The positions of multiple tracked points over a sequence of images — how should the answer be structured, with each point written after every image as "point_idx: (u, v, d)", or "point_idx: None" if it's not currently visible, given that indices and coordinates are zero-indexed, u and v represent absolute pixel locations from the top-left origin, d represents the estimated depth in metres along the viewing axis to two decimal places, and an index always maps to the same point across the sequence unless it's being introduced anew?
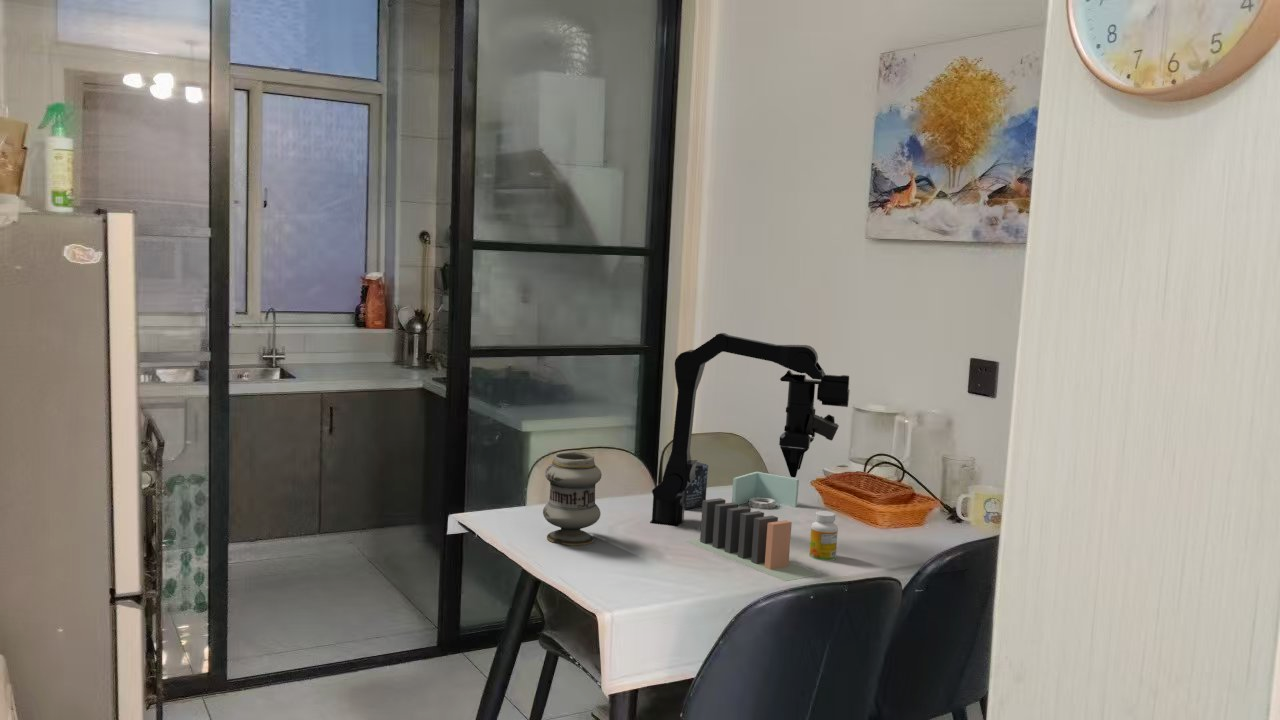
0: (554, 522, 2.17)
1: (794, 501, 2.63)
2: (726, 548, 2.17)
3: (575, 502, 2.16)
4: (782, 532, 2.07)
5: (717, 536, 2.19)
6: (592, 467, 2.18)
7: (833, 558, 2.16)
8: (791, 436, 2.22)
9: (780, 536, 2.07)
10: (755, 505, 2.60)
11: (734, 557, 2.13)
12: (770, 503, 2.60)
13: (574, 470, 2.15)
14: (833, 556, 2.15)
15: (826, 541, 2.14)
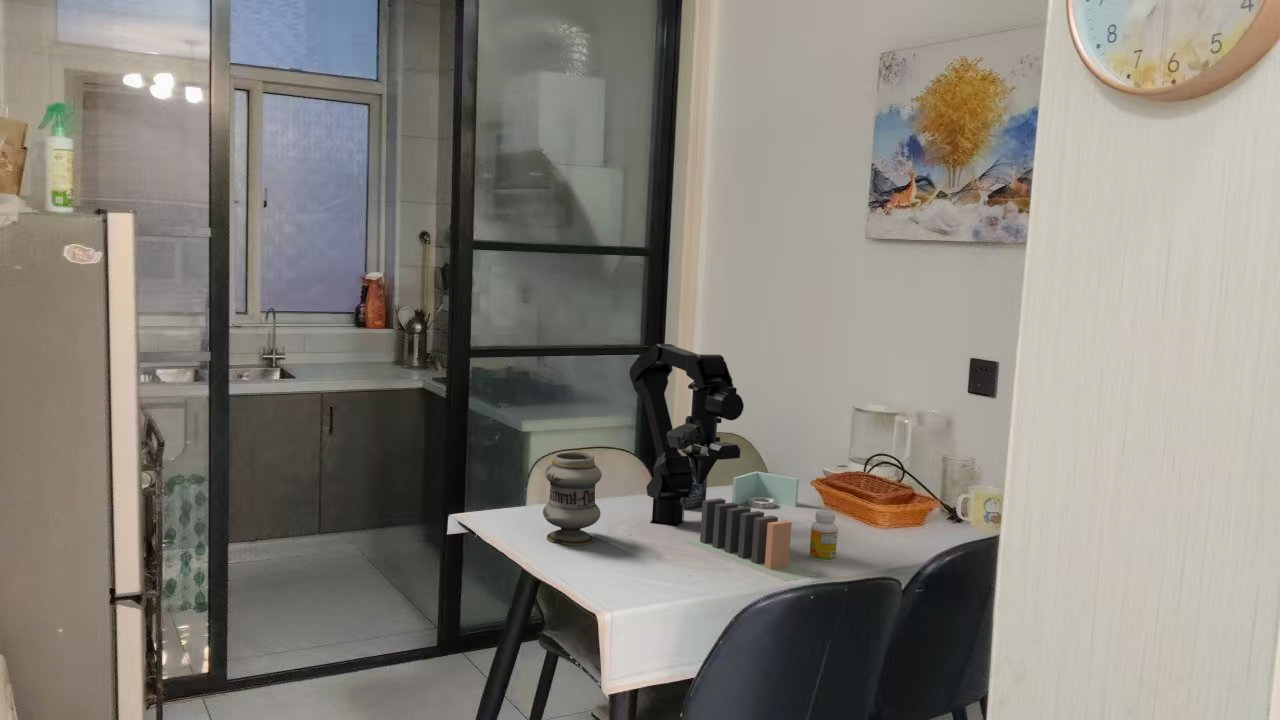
0: (554, 522, 2.17)
1: (794, 501, 2.63)
2: (726, 548, 2.17)
3: (575, 502, 2.16)
4: (782, 532, 2.07)
5: (717, 536, 2.19)
6: (592, 467, 2.18)
7: (833, 558, 2.16)
8: None
9: (780, 536, 2.07)
10: (755, 505, 2.60)
11: (734, 557, 2.13)
12: (770, 503, 2.60)
13: (574, 470, 2.15)
14: (833, 556, 2.15)
15: (826, 541, 2.14)
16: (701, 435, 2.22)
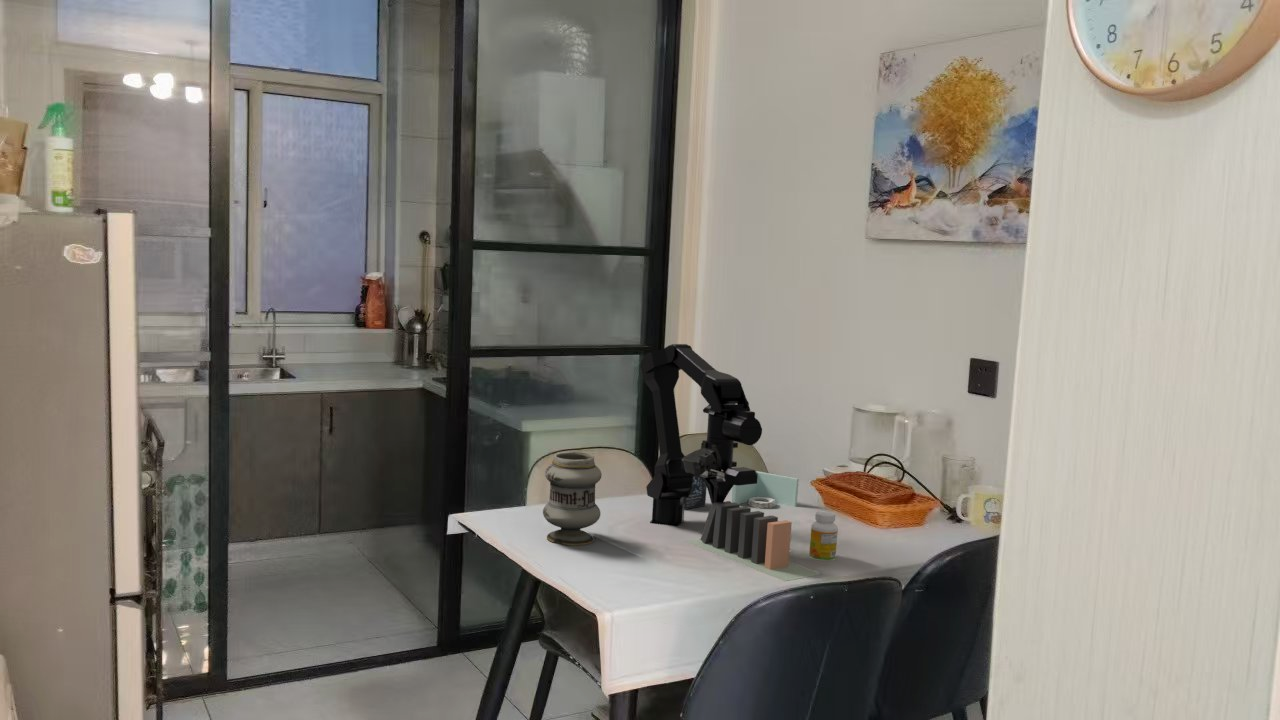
0: (554, 522, 2.17)
1: (794, 500, 2.63)
2: (726, 548, 2.17)
3: (575, 502, 2.16)
4: (782, 532, 2.07)
5: (717, 536, 2.19)
6: (592, 467, 2.18)
7: (833, 558, 2.16)
8: None
9: (780, 536, 2.07)
10: (755, 505, 2.60)
11: (734, 557, 2.13)
12: (770, 503, 2.60)
13: (574, 470, 2.15)
14: (833, 556, 2.15)
15: (827, 541, 2.14)
16: (717, 460, 2.18)
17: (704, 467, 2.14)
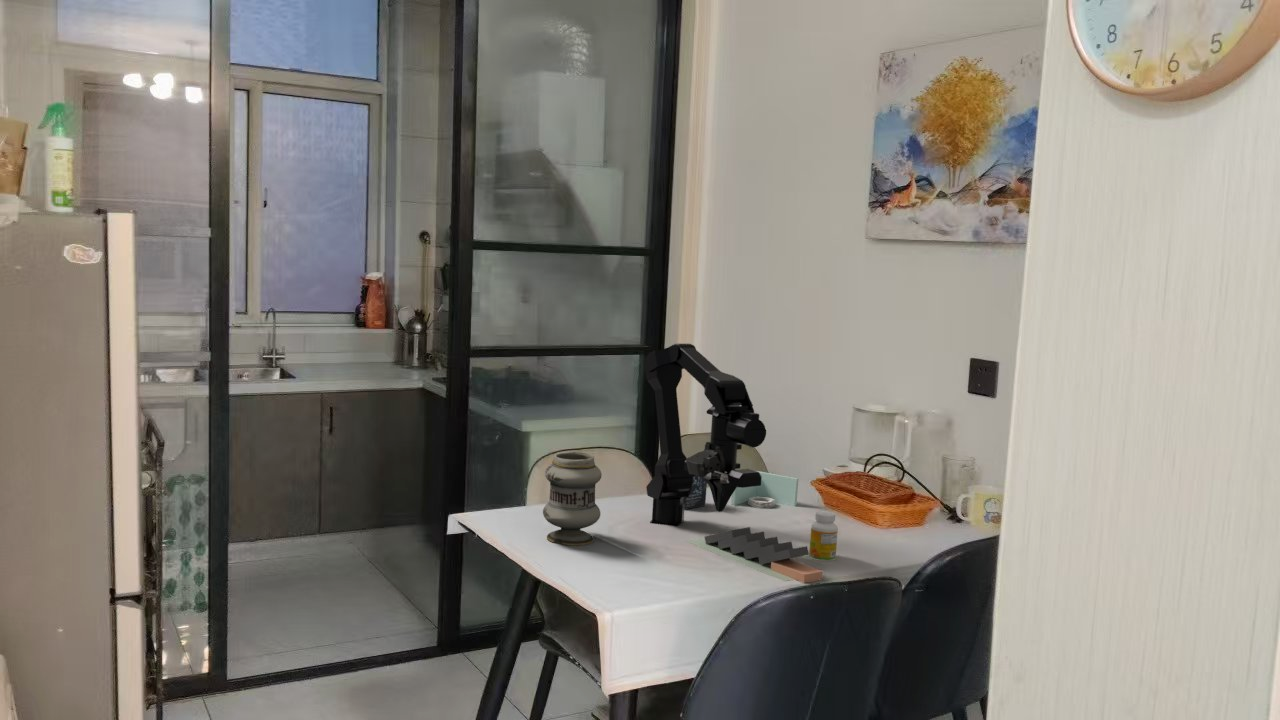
0: (554, 522, 2.17)
1: (793, 500, 2.63)
2: (733, 548, 2.15)
3: (575, 502, 2.16)
4: None
5: (726, 546, 2.16)
6: (592, 467, 2.18)
7: (833, 558, 2.16)
8: None
9: None
10: (754, 504, 2.60)
11: (734, 557, 2.13)
12: (769, 502, 2.60)
13: (574, 470, 2.15)
14: (833, 556, 2.15)
15: (826, 541, 2.14)
16: (721, 462, 2.17)
17: (708, 469, 2.14)
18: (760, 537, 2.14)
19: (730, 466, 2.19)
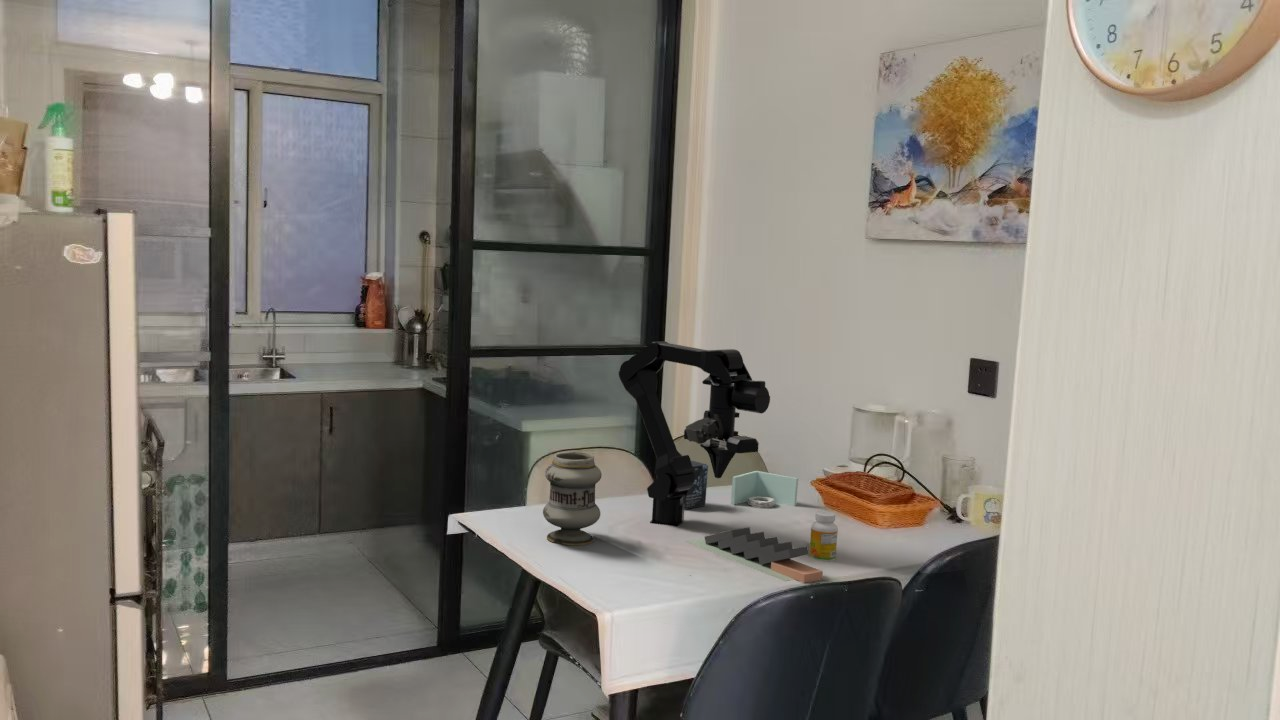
0: (554, 522, 2.17)
1: (793, 500, 2.64)
2: (733, 548, 2.15)
3: (575, 502, 2.16)
4: None
5: (726, 546, 2.16)
6: (592, 467, 2.18)
7: (833, 558, 2.16)
8: None
9: None
10: (754, 504, 2.61)
11: (734, 557, 2.13)
12: (769, 502, 2.61)
13: (574, 470, 2.15)
14: (833, 556, 2.15)
15: (826, 541, 2.14)
16: (719, 429, 2.24)
17: (706, 435, 2.21)
18: (760, 537, 2.14)
19: (728, 433, 2.26)
